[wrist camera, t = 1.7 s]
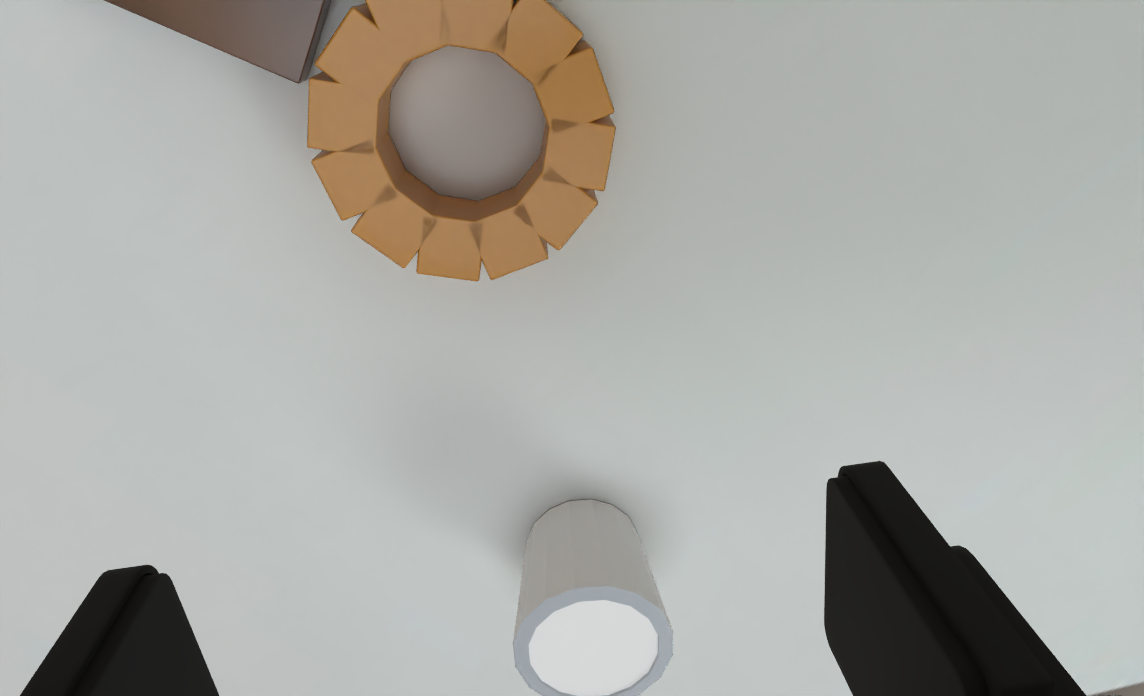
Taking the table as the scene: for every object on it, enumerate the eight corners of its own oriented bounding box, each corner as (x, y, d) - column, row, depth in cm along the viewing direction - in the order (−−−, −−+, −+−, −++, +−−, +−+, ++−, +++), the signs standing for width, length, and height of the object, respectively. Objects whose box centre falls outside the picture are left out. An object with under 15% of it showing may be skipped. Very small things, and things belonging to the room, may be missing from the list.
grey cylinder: (598, 463, 39) (613, 559, 33) (677, 554, 42) (705, 659, 35) (485, 537, 40) (479, 643, 34) (567, 620, 43) (576, 733, 37)
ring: (545, -78, 29) (547, -83, 27) (641, 199, 34) (652, 219, 31) (273, 38, 30) (249, 44, 28) (401, 291, 35) (391, 318, 32)
